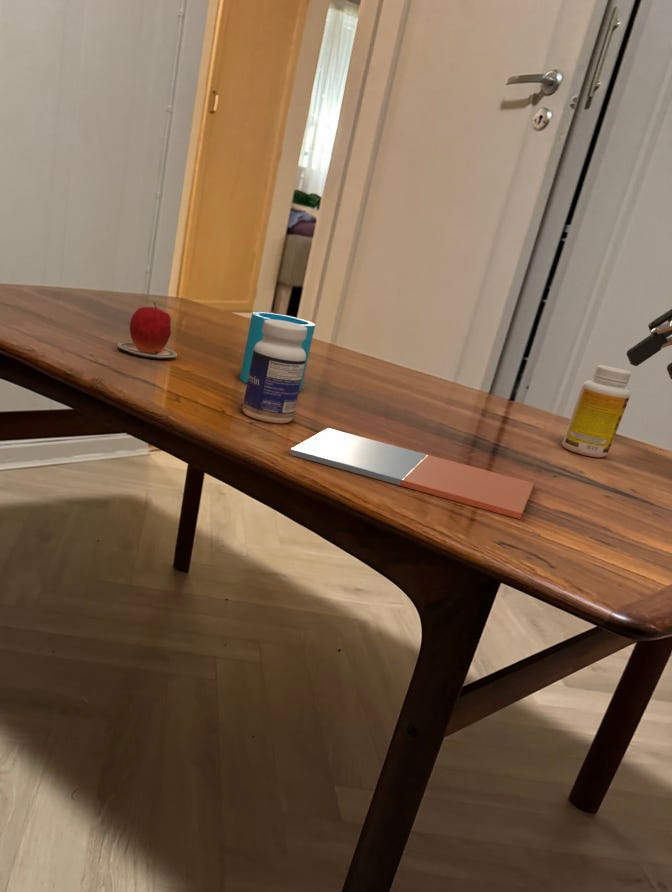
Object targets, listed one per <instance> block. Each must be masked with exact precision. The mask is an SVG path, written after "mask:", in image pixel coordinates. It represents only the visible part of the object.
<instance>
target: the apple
mask: <svg viewBox="0 0 672 892" xmlns="http://www.w3.org/2000/svg"><path fill="white" fill-rule="evenodd" d="M152 303H153V306H141V307H139V308H138V309H137V310H135V311H134V312H133V315H132V316H131V319H130V322H129V334H130V339H131V340H132V342H129V341H127V342H126V341H125V342H119V343H118V344H117V347H118V348H120V350H121V349H122V350H124V351H125V352H127V353H129V354H132V355H135V356H138V357H141V358H142V357H144V358H148V359H156V360H157V359H158V360H161V359H162V360H164V359H171V358H176V357H177V356H178V354H177V352H176V351H173V350H171V349H169V348H165V347H166V346H167V344H168V343H169V339H170V337H171V334H172V329H171V326H172V325H171V319H172V316H171V314H170V313H169V312H167V311H166V310H164V309H161V308H158V307H157V306H156V304H157V303H156V302H154V301H152Z"/></svg>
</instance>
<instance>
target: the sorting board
mask: <svg viewBox="0 0 672 892" xmlns="http://www.w3.org/2000/svg"><path fill="white" fill-rule="evenodd" d="M289 456H293V457H296V458H300V459H303V460H306V461H310V462H314V463H318V464H321V465H325V466H328V467H332V468H335V469H339V470H341V471H342V470H343V471H346V472H350V473H353V474H356V475H357V474H358V475H360V476H364V477H368V478H371V479H375V480H379V481H382V482H385V483H388V484H389V483H390V484H391V485H396V486H400V487H403V488H407V489H411V490H414V491H418V492H422V493H425V494H428V495H432V496H436V497H439V498H442V499H446V500H450V501H453V502H457V503H461V504H463V505H467V506H471V507H475V508H479V509H482V510H485V511H488V512H493V513H496V514H499V515H504V516H507V517H510V518H513V519H514V518H515V519H518V520H521V519H522V516H523V513H524V511H525V508H526V506H527V503H528V501H529V499H530V496H531V494H532V491H533V489H534V486H535V482H532V481H528V480H524V479H521V478H516V477H513V476H510V475H505V474H502V473H499V472H494V471H491V470H487V469H483V468H479V467H475V466H472V465H468V464H464V463H462V462H461V463H460V462H458V461H457V462H456V461H453V460H449V459H446V458H442V457H439V456H435V455H432V454H426V453H423V452H419V451H417V450H416V451H415V450H412V449H408V448H404V447H401V446H397V445H394V444H389V443H386V442H382V441H378V440H375V439H371V438H368V437H363V436H360V435H356V434H352V433H348V432H344V431H341V430H337V429H333V428H330V427H327V428H326V429H324V430H322V431H320V432H318V433H317V434H315V435H313V436H311V437H309V438H308V439H305V440H304V441H303V442H300V443H299V444H297V445H295V446H294V447H291V448H290V450H289Z"/></svg>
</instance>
